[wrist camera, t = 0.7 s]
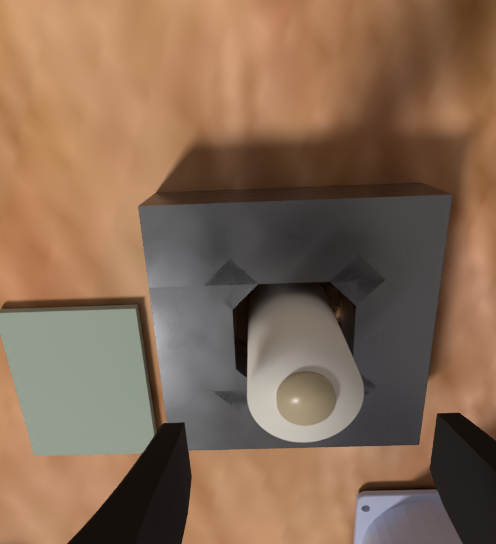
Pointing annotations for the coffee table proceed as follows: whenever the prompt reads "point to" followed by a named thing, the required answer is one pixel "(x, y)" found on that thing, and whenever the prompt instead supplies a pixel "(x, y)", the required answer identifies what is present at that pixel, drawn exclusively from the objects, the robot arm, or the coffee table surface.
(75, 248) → the coffee table surface
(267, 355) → the plug
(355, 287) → the housing
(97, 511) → the robot arm
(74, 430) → the mat
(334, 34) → the coffee table surface
